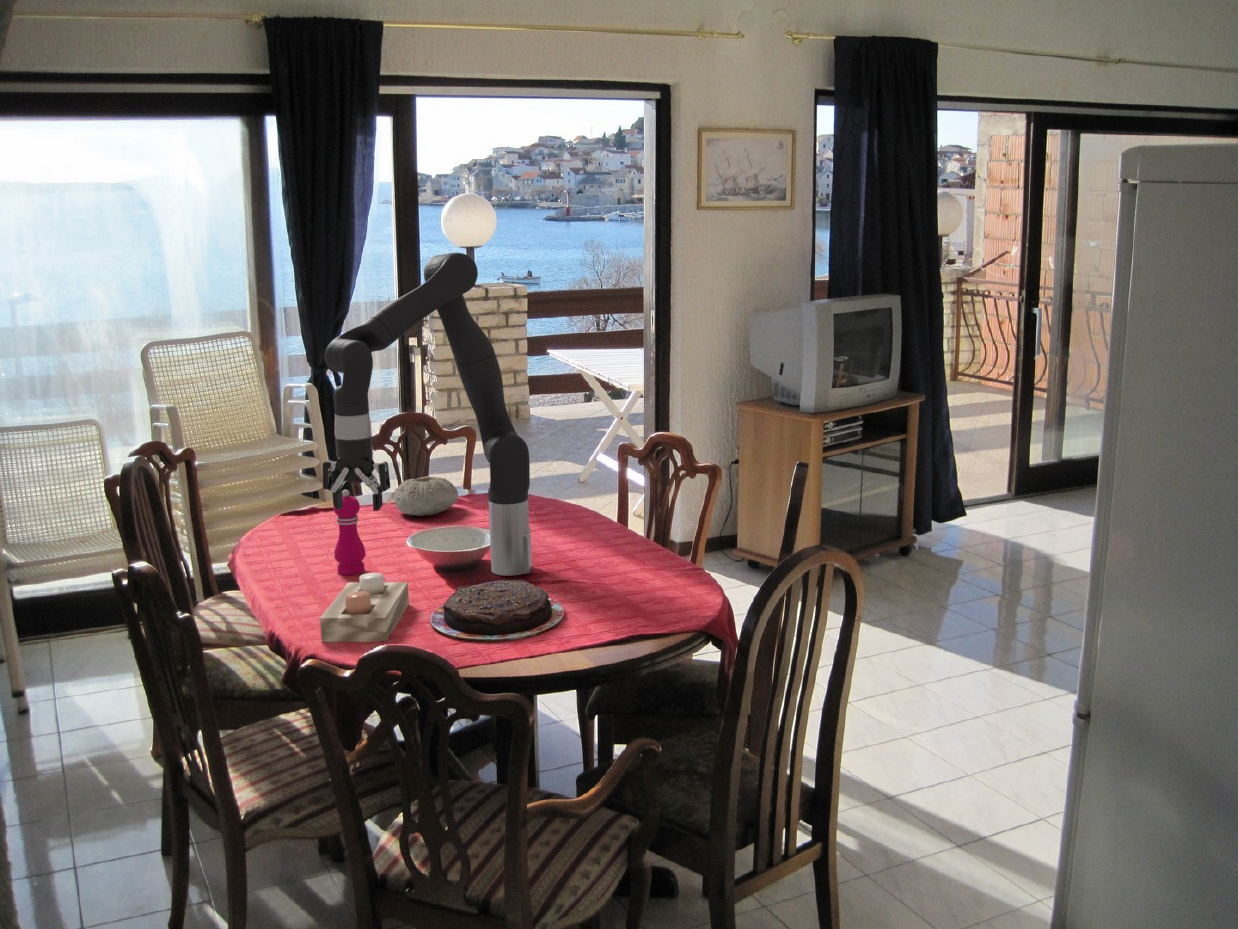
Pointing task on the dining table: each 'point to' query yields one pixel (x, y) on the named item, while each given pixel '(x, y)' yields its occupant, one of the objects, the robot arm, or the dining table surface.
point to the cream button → (372, 583)
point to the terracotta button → (358, 602)
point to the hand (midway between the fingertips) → (358, 509)
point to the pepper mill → (349, 538)
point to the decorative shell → (425, 496)
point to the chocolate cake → (497, 612)
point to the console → (365, 615)
